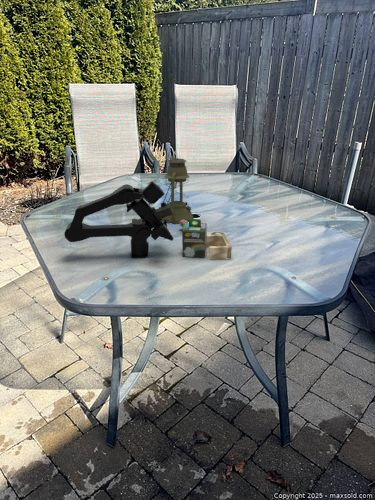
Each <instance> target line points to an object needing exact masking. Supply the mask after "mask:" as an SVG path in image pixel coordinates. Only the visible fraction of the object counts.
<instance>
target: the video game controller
mask: <svg viewBox="0 0 375 500" xmlns="http://www.w3.org/2000/svg"><path fill="white" fill-rule="evenodd" d="M179 223H180V224H178V225H179V226H180V227H181V228H183V227H184V224H185V223H188V221H187V220H184V219H183V220H181V221H179Z"/></svg>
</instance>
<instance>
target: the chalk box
mask: <svg viewBox="0 0 375 500" xmlns="http://www.w3.org/2000/svg"><path fill="white" fill-rule="evenodd" d="M207 227H208V225H207V222H202V220H201V219H200V218H194V219H189V223H185V224H184V227H182V231H181V235H182V236H181V238H182V241H181V242H182V243H181V244H182V248H181V249H182V257H183V258H184V257H187V258H202V259H203V258H206V254H207V247H206V241H207V235H208V234H207V231H208V230H207V229H208V228H207Z"/></svg>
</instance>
